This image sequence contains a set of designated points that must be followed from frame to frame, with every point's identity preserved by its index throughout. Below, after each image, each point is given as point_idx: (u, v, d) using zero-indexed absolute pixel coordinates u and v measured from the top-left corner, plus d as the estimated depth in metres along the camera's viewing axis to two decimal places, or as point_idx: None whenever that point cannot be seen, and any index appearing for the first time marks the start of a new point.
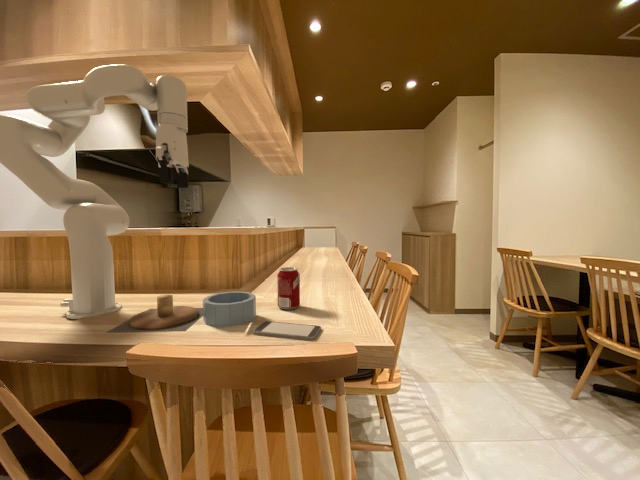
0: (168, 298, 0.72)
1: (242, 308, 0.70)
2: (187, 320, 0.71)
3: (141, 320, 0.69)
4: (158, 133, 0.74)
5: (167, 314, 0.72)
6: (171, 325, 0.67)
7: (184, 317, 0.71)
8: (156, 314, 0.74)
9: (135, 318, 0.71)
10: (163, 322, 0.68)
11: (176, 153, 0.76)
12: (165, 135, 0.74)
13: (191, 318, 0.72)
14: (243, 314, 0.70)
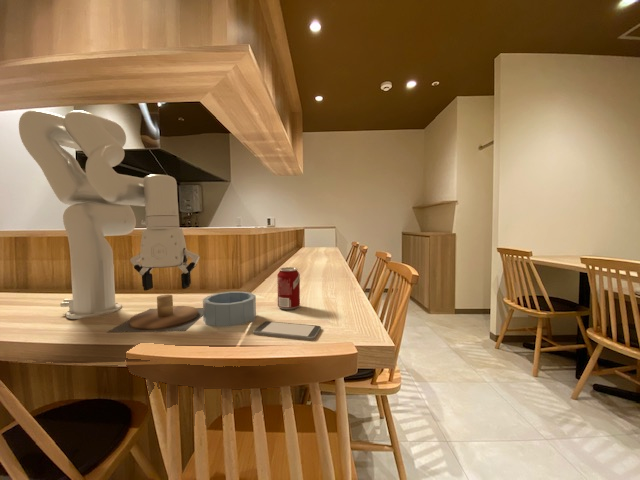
0: (168, 298, 0.72)
1: (242, 308, 0.70)
2: (187, 319, 0.71)
3: (141, 320, 0.69)
4: (179, 238, 0.71)
5: (167, 314, 0.72)
6: (171, 325, 0.67)
7: (184, 317, 0.71)
8: (156, 314, 0.74)
9: (135, 318, 0.71)
10: (163, 321, 0.68)
11: None
12: (183, 240, 0.73)
13: (191, 318, 0.72)
14: (243, 314, 0.70)
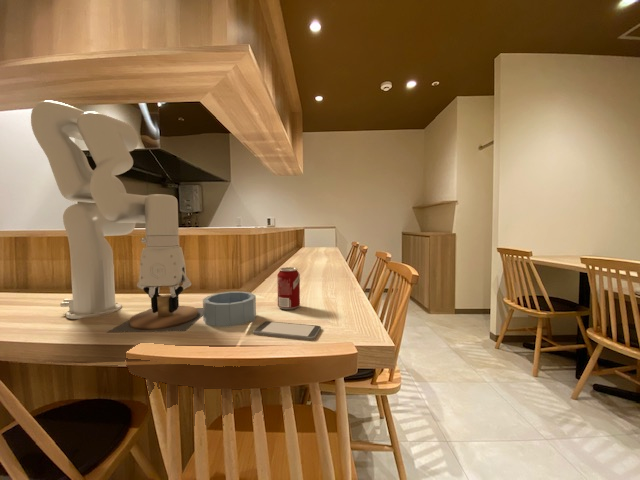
0: (168, 298, 0.72)
1: (242, 308, 0.70)
2: (187, 319, 0.71)
3: (141, 320, 0.69)
4: (178, 258, 0.71)
5: (167, 314, 0.72)
6: (171, 325, 0.68)
7: (184, 317, 0.71)
8: (156, 314, 0.74)
9: (135, 318, 0.71)
10: (163, 321, 0.68)
11: None
12: (182, 259, 0.73)
13: (191, 318, 0.72)
14: (243, 314, 0.70)
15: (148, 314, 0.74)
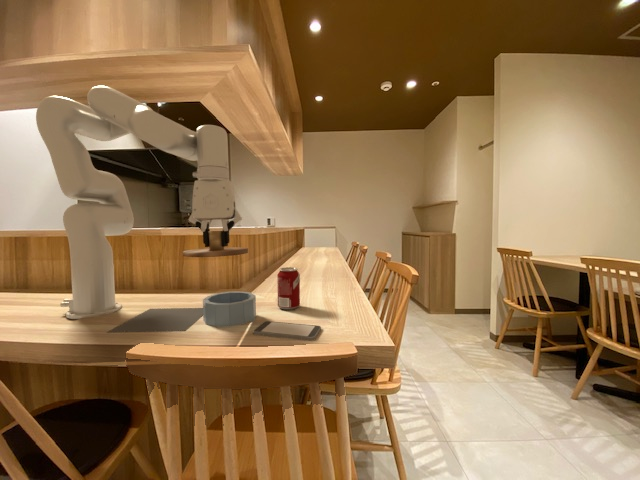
0: (220, 232, 0.72)
1: (242, 308, 0.70)
2: (241, 251, 0.70)
3: (195, 251, 0.69)
4: (230, 190, 0.71)
5: (219, 248, 0.72)
6: (227, 254, 0.67)
7: (237, 250, 0.71)
8: None
9: (188, 251, 0.70)
10: (218, 251, 0.68)
11: None
12: (233, 193, 0.73)
13: (244, 251, 0.71)
14: (243, 314, 0.70)
15: (199, 250, 0.73)
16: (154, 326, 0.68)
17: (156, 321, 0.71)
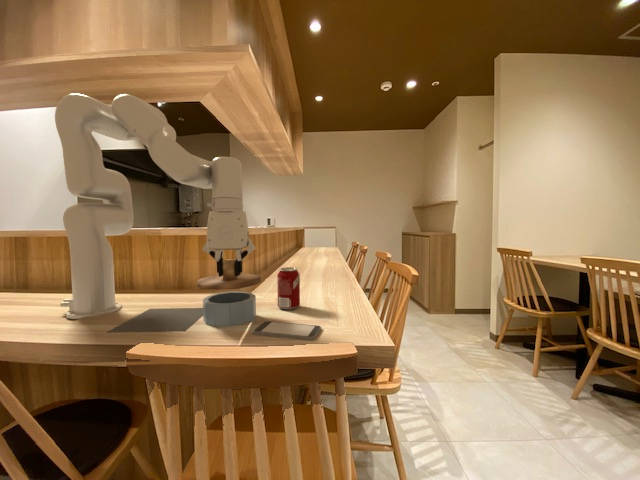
0: (234, 262, 0.73)
1: (242, 308, 0.70)
2: (254, 282, 0.71)
3: (209, 282, 0.69)
4: (245, 221, 0.71)
5: (233, 277, 0.73)
6: (242, 285, 0.68)
7: (250, 280, 0.72)
8: (220, 278, 0.74)
9: (202, 281, 0.71)
10: (232, 282, 0.68)
11: None
12: (247, 223, 0.73)
13: (257, 281, 0.72)
14: (243, 314, 0.70)
15: (212, 278, 0.74)
16: (154, 326, 0.68)
17: (156, 321, 0.71)
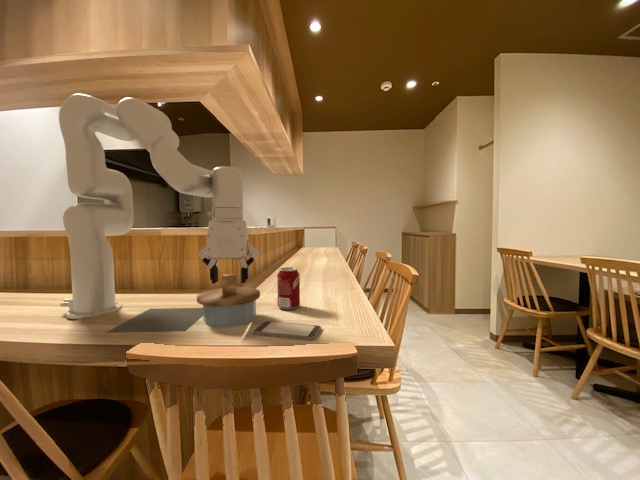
0: (233, 277, 0.73)
1: (242, 308, 0.70)
2: (254, 298, 0.71)
3: (209, 298, 0.70)
4: (245, 230, 0.72)
5: (232, 293, 0.73)
6: (241, 302, 0.68)
7: (250, 296, 0.72)
8: (220, 293, 0.74)
9: (201, 296, 0.71)
10: (232, 299, 0.69)
11: None
12: (247, 232, 0.74)
13: (256, 296, 0.72)
14: (243, 314, 0.70)
15: (212, 293, 0.74)
16: (154, 326, 0.68)
17: (156, 321, 0.71)
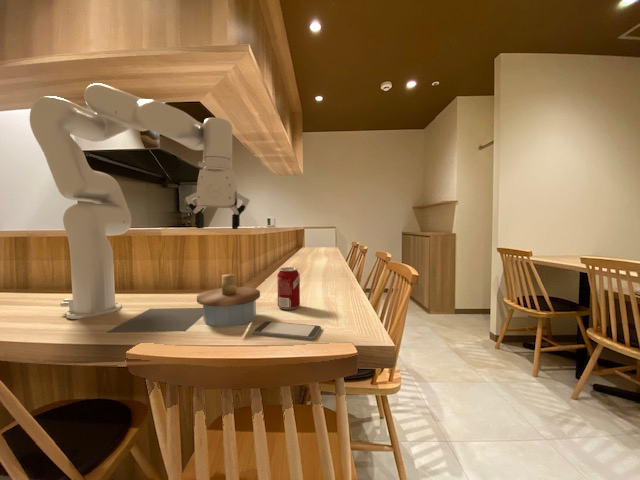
0: (233, 277, 0.73)
1: (242, 308, 0.70)
2: (254, 298, 0.71)
3: (209, 298, 0.70)
4: (233, 180, 0.75)
5: (232, 293, 0.73)
6: (241, 302, 0.68)
7: (250, 296, 0.72)
8: (220, 293, 0.74)
9: (201, 296, 0.71)
10: (232, 299, 0.69)
11: None
12: (235, 183, 0.77)
13: (256, 296, 0.72)
14: (243, 314, 0.70)
15: (212, 293, 0.74)
16: (154, 326, 0.68)
17: (156, 321, 0.71)
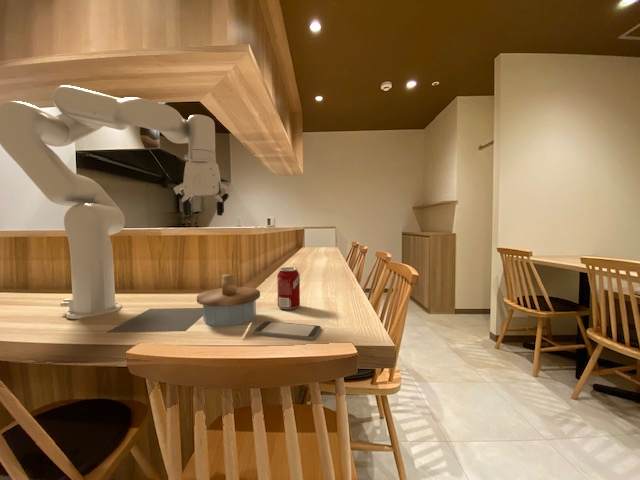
0: (233, 277, 0.73)
1: (242, 308, 0.70)
2: (254, 298, 0.71)
3: (209, 298, 0.70)
4: (216, 171, 0.83)
5: (232, 293, 0.73)
6: (241, 302, 0.68)
7: (250, 296, 0.72)
8: (220, 293, 0.74)
9: (201, 296, 0.71)
10: (232, 299, 0.69)
11: None
12: (219, 174, 0.85)
13: (256, 296, 0.72)
14: (243, 314, 0.70)
15: (212, 293, 0.74)
16: (154, 326, 0.68)
17: (156, 321, 0.71)
